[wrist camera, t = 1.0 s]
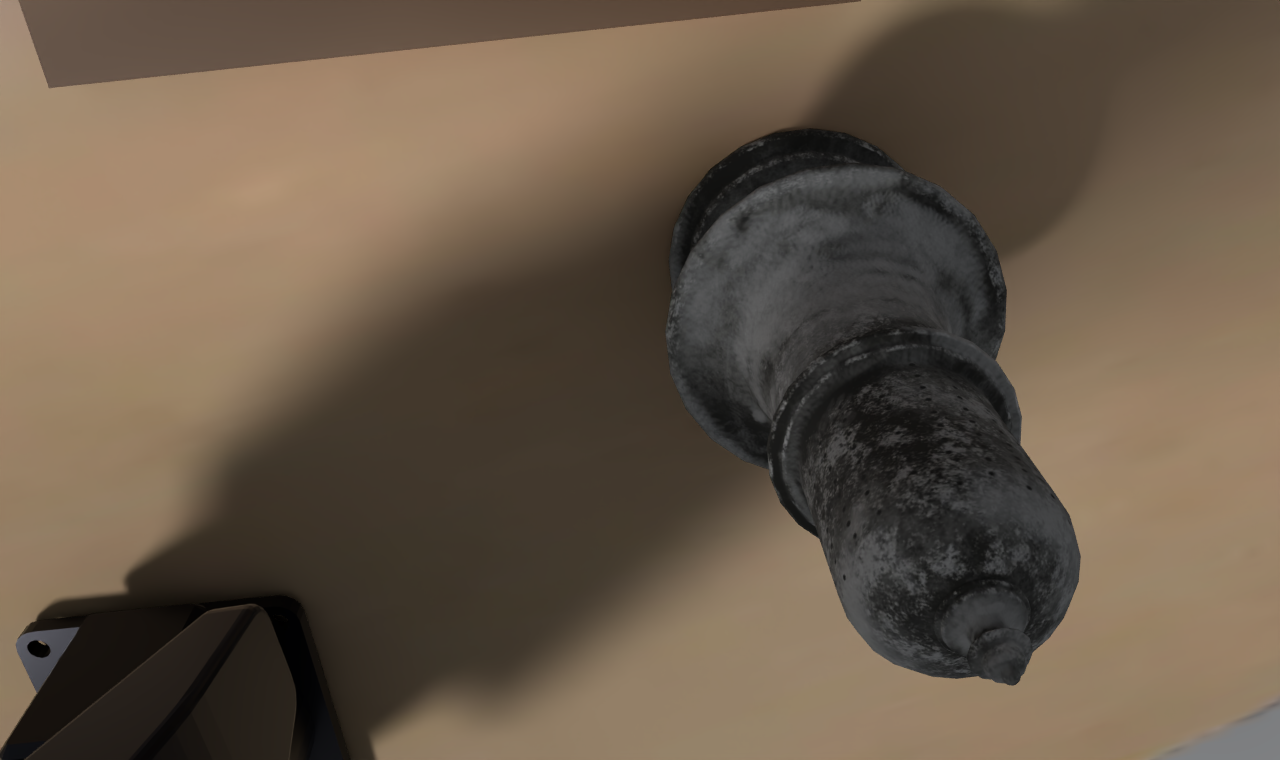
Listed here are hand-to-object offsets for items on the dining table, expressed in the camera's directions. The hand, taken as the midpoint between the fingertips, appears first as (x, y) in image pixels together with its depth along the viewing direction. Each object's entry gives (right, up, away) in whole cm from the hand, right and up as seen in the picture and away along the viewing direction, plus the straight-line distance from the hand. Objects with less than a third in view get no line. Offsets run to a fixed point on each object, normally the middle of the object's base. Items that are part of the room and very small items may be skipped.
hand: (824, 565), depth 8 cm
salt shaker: (+2, +4, +13) cm, 14 cm away
